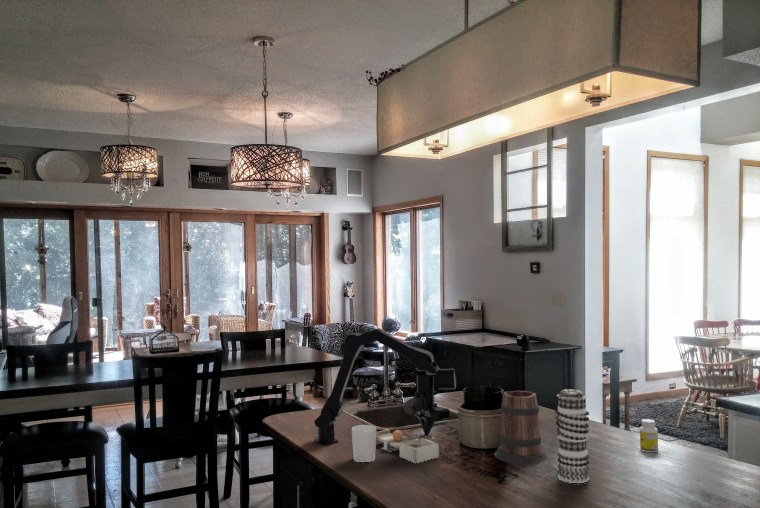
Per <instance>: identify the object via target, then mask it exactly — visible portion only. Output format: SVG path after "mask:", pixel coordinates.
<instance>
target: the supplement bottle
mask: <svg viewBox="0 0 760 508" xmlns="http://www.w3.org/2000/svg"><path fill="white" fill-rule="evenodd" d="M658 436H659V430H658V428H657V427H656V422H655V420H654V419H651V418H650V419H649V418H643V419H641V426H640V427H639V445H640V446H639V447H640V448H639V449H640V450H641V451H642V450H644V451H648V452H656V453H658V452H659V437H658ZM644 451H643V452H644ZM657 451H658V452H657ZM648 452H647V453H648Z"/></svg>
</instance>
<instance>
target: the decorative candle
mask: <svg viewBox="0 0 760 508" xmlns="http://www.w3.org/2000/svg"><path fill="white" fill-rule="evenodd" d="M556 397H558V398H557V401H558V404H557V409H555V410H554V411H555V413H556V415H555V420H556V422H555V425H556V426H557V427H556V435H557V436H556V437H557V438H558V443H559V444H558V452H557V456H558V458H557V462H558V464H557V468H558V469H557V474H558V479H559V481H561V480H562V481H561V482H563V481H565V482H564V483H566V482H569V483H568V484H570V483H584V482H587V481H588V480H589V481H590V478H589V477H590V472H589V471H590V467H589V466H588V465H589V464H590V461H589V458H590V456H589V455H588V447H587V441H588V440H589V436H588V435H587V434H589V433H590V431H589V430H588V428H589V427H590V426H589V424H588V422H589V421H590V417H588V416H589V415H590V412H589V411H587V405H586V402H587V401H586V398H587V396H586V395H585V394H584V393H583V391H581V390H579V389H571V388H567V389H566V388H565V389H562V390H561V391H560V392H559V393H558V394H556ZM586 422H587V423H586ZM587 483H588V482H587ZM584 484H585V483H584Z"/></svg>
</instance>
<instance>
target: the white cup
mask: <svg viewBox="0 0 760 508" xmlns="http://www.w3.org/2000/svg"><path fill="white" fill-rule="evenodd" d="M376 432H377V427H376V426H375V425H370V424H360V425H354V426H352V427H351V440H352V452H353V460H354V462H356V463H359V462H362V463H361V464H364V463H363V462H369V463H372V462H375V460H376V450H377V449H376V446H377V439H376ZM371 461H372V462H371Z"/></svg>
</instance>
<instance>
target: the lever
mask: <svg viewBox="0 0 760 508" xmlns="http://www.w3.org/2000/svg"><path fill="white" fill-rule="evenodd" d="M421 438H424V439H427V440H430V441H432V442H436V437H433V434H431V433H429V435H425V434H424V432H422V433H419V438H416V439H411V440H408V439H407V440H406V439H403V438H402V439H401V440H400V441H396V440H394V438H393V433H391V429H389V428H388V429H384V430H380V431H376V441H377V440H378V441H380V442H382V443H384V440H387V441H389V445H391V446H393V447H396V448H398V449H400V443H403V444H406V445H408V446H411V447H414V448H418V446H421Z"/></svg>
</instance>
